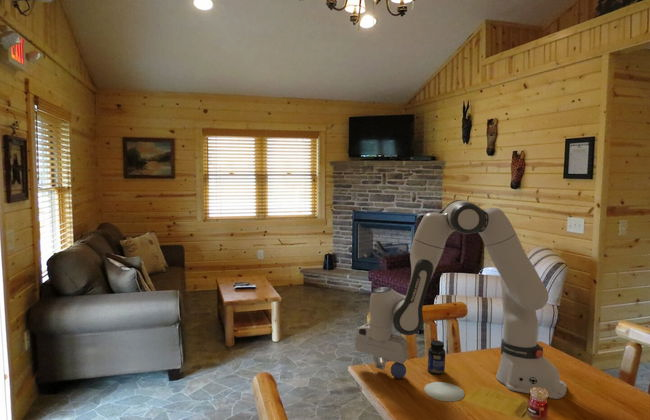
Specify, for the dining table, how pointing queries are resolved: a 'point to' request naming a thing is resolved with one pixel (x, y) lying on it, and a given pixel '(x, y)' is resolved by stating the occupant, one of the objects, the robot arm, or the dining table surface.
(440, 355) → the pill bottle
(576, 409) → the dining table surface
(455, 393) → the disc
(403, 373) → the ball
